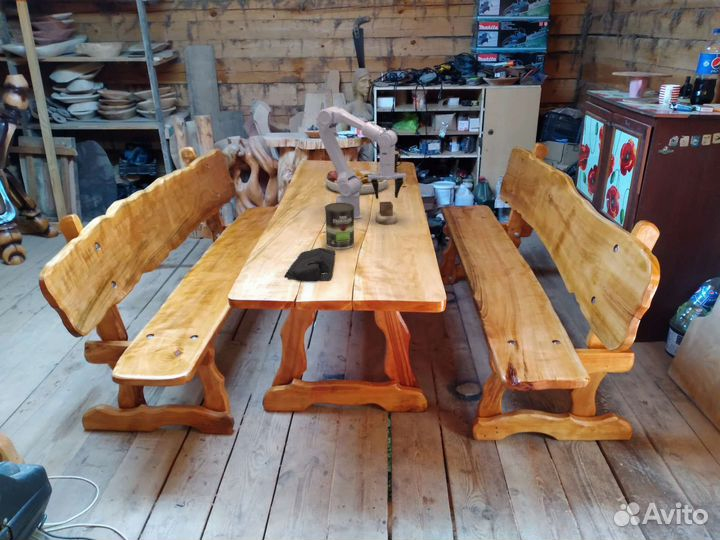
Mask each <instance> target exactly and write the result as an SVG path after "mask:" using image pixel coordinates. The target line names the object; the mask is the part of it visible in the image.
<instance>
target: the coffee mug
mask: <svg viewBox="0 0 720 540" xmlns="http://www.w3.org/2000/svg"><path fill="white" fill-rule="evenodd" d="M399 154H400V152H399V151H396V150H395V166H394V173H396V172H397V167H399V166H401V164H402V163H403V159H402V158H401V157H400V156H399ZM399 159H400V162H399V164H398V160H399Z"/></svg>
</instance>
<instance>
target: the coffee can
mask: <svg viewBox="0 0 720 540" xmlns="http://www.w3.org/2000/svg"><path fill="white" fill-rule="evenodd" d="M324 210H325V211H324V212H325V242H326V243H325V245H326V247H328V249H329V248H330V249H331V250H347V249H351V248H352V247H354V246H355V219H354V206H353V205H352V204H348V203H337V202H332V203H329V204H326V205H325V206H324ZM350 247H351V248H350Z"/></svg>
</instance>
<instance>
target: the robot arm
mask: <svg viewBox="0 0 720 540" xmlns="http://www.w3.org/2000/svg"><path fill="white" fill-rule="evenodd" d="M315 120H316V121H317V126H318V128H317V129H318V136H319V138H320V139H321V142H322V144H323V146H324V149H325V151H326V153H327V154H328V157H329V159H330V161H331V163H332V165H333V168H334V171H335V170H336V172H337V174H338V179H337V183H338V186H339V192H338V193H340V195H337V196H336V198H335V199H336V202H335V203H348V204H352V205H353V206H354V220H355V219H356V220H357V219H362V218H363V217H362V215H361V211H360V210H361V209H360V207H361V205H360V203H361V202H360V201H361V200H360V198H361V194H359V191H360V190H361V188H362V182H361V180H360V179H359V178H358V177H357V176H356V174H355V172H353V171H352V170H353V169H351V168H350V166H349V163H348V161H347V160H346V156H345V155H344V152H343V151H342V148H341V146H340V145H339V142H338V140H337V138H336V136H335V134H334V133H335V130H336V127H337V126H338V125H339V124H343V123H344V124H346V125H347V126H349V127H352V128H354V129H356V130H358V131H360V132H361V134H362V136H363V137H366V138H368V139H369V140H370V141H371V140H372V142H374V143H376V144H377V145H378V147H379V172H380V174H373V175H368V181H371V183H372V185H373V188H374V191H375V192H374V195H375V199H376V200H379V191H378V185H379V183H378V181H377V180H388V181H391V180H394V198H395V199H398V198H399V197H398V196H399V193H400V191H401V188H402V186H403V184H404V180H406V178H407V173H401V172H400V173H399V172H397V173H396V172H394V166H395V151H396V144H397V142H398V135H397V133H396V132H395V131H394V130H393V129H388V130H387V128H386V127H381V126H379V125H377V124H376V121H367V122H365V121H363V120H362V119H359V118H358V117H356V116H355V115H353V114H351V113H350V112H349V111H347V110H345V109H344V108H341V107H339V106H337V105H332V106H330V107H327V108H322V109H321V110H319V112H318V114H317V117H316V119H315Z"/></svg>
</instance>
